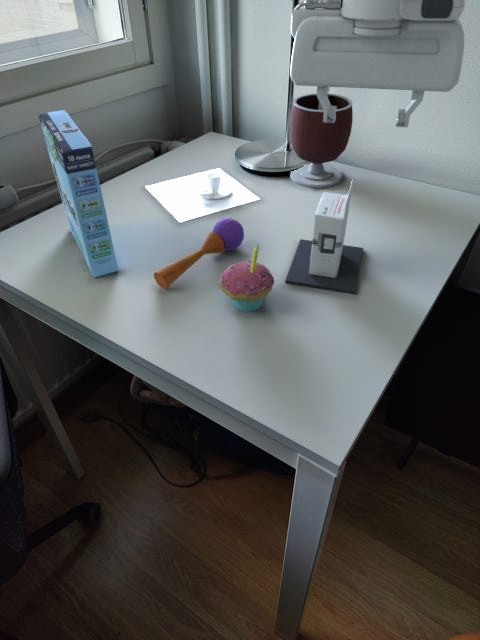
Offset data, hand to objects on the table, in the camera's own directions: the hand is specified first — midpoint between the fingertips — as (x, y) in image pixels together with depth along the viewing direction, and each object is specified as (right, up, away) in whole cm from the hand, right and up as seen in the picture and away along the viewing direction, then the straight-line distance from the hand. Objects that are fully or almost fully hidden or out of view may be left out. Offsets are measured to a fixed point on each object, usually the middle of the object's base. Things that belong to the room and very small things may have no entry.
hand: (364, 123), depth 61 cm
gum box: (-45, -13, +28) cm, 55 cm away
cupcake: (-16, -23, +15) cm, 32 cm away
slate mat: (-1, -16, +23) cm, 28 cm away
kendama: (-24, -16, +24) cm, 37 cm away
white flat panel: (-26, +3, +46) cm, 52 cm away
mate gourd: (+2, +9, +52) cm, 53 cm away
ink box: (-1, -16, +22) cm, 28 cm away
